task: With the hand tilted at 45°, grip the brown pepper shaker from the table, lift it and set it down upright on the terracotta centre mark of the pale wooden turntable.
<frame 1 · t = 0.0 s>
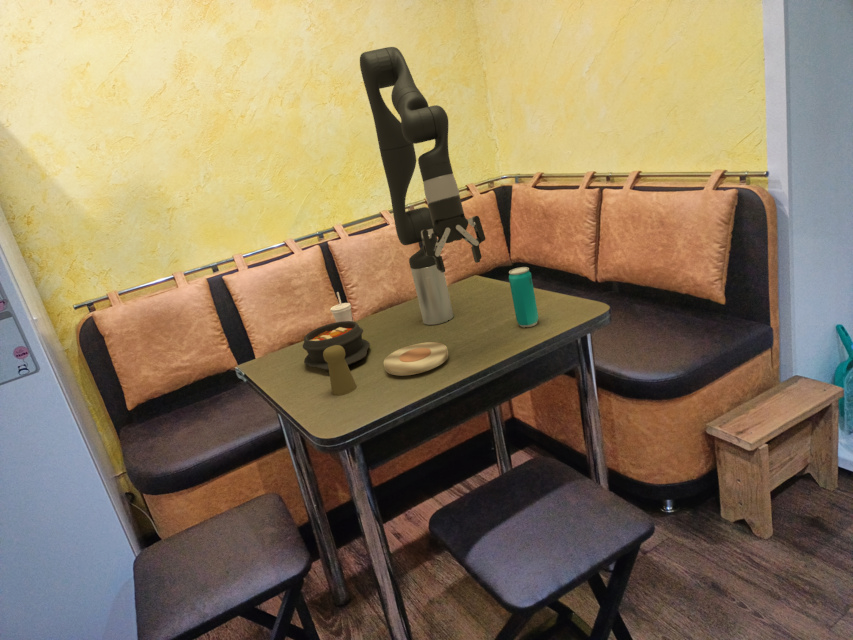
hand: (460, 267, 138), 22 cm above the table, tool pointing down, fingers open, 8 cm apart
smoothie: (348, 336, 183), on the table
beverage can: (528, 325, 158), on the table
brown pepper shaker: (344, 390, 144), on the table
turntable: (416, 359, 148), point 1 cm above the table, hinge at 0.0°
casserole: (339, 359, 166), on the table
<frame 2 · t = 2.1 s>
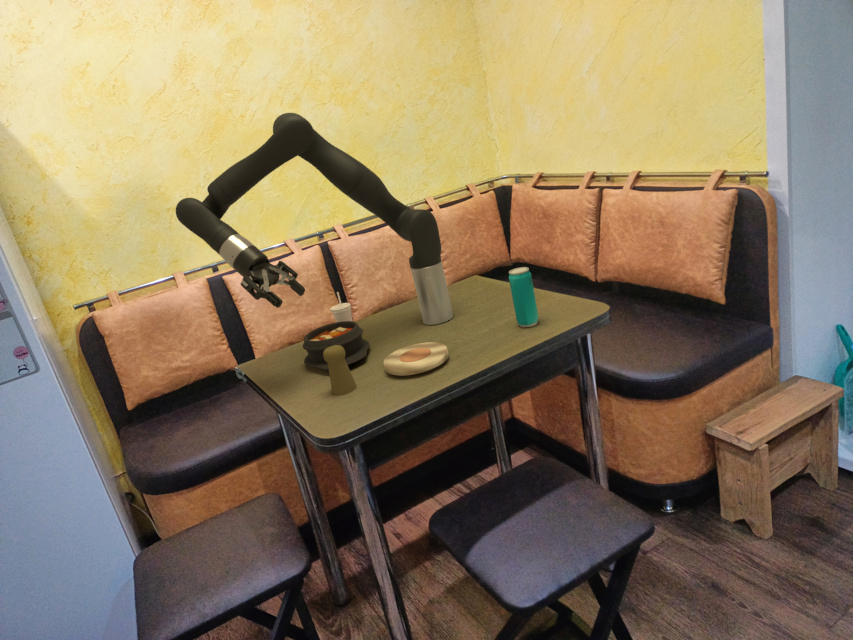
hand: (292, 298, 143), 23 cm above the table, tool tilted 45°, fingers open, 8 cm apart
nothing on the table moved.
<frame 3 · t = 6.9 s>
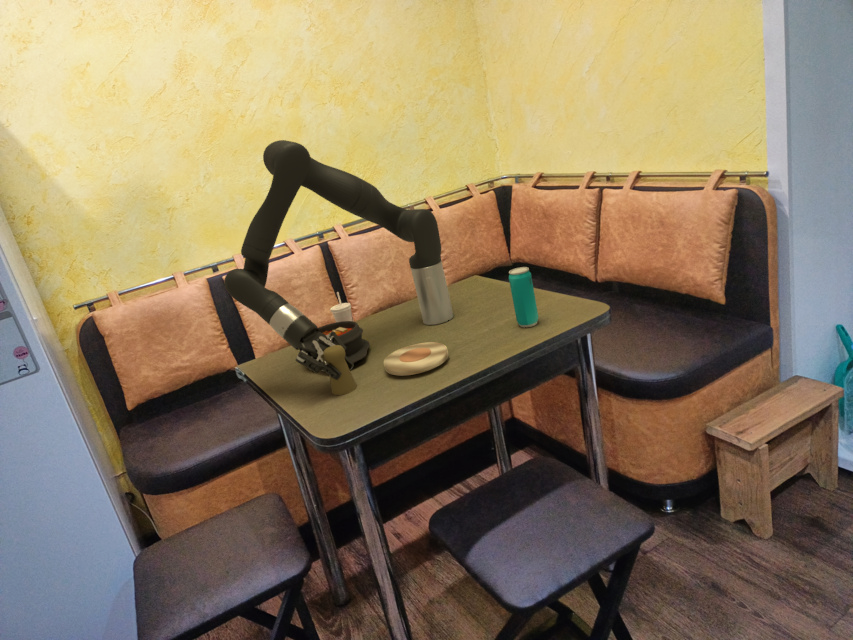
hand: (345, 372, 141), 5 cm above the table, tool tilted 45°, fingers closed on brown pepper shaker, 4 cm apart
brown pepper shaker: (344, 389, 144), on the table, touching gripper
everything else where it was.
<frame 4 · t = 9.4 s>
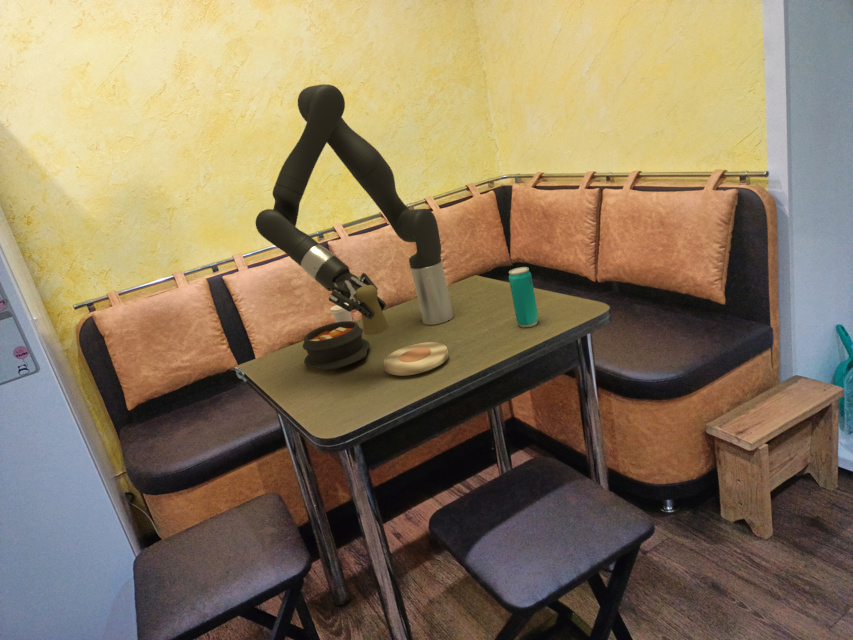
hand: (378, 311, 141), 16 cm above the table, tool tilted 45°, fingers closed on brown pepper shaker, 4 cm apart
brown pepper shaker: (376, 330, 143), point 11 cm above the table, touching gripper
everything else where it was.
when the fingers open (9 cm above the table, at t = 12.0 s): brown pepper shaker drops 1 cm, resting on turntable.
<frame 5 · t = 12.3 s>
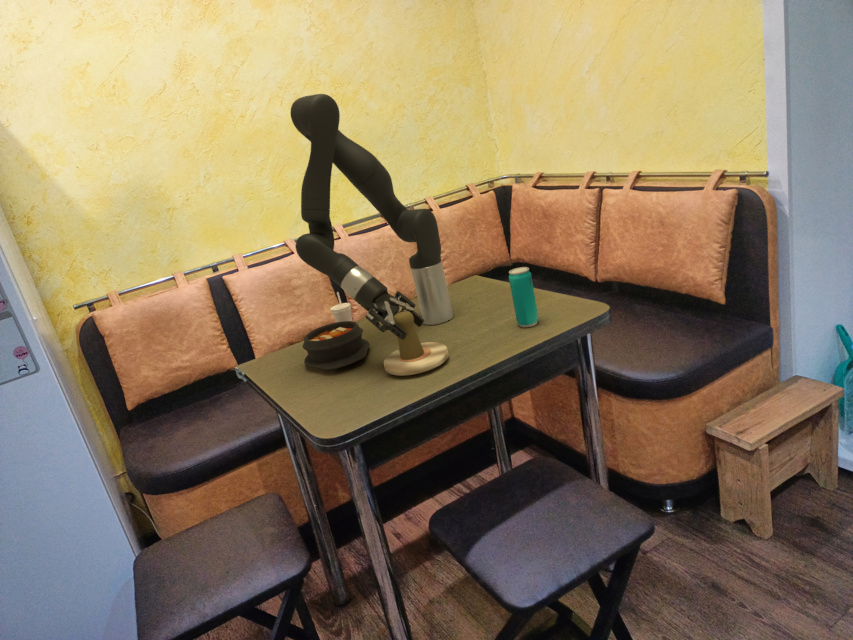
hand: (414, 330, 144), 9 cm above the table, tool tilted 45°, fingers open, 8 cm apart
brown pepper shaker: (412, 355, 147), point 3 cm above the table, touching turntable
turntable: (416, 359, 148), point 1 cm above the table, hinge at 0.0°, touching brown pepper shaker
everything else where it was.
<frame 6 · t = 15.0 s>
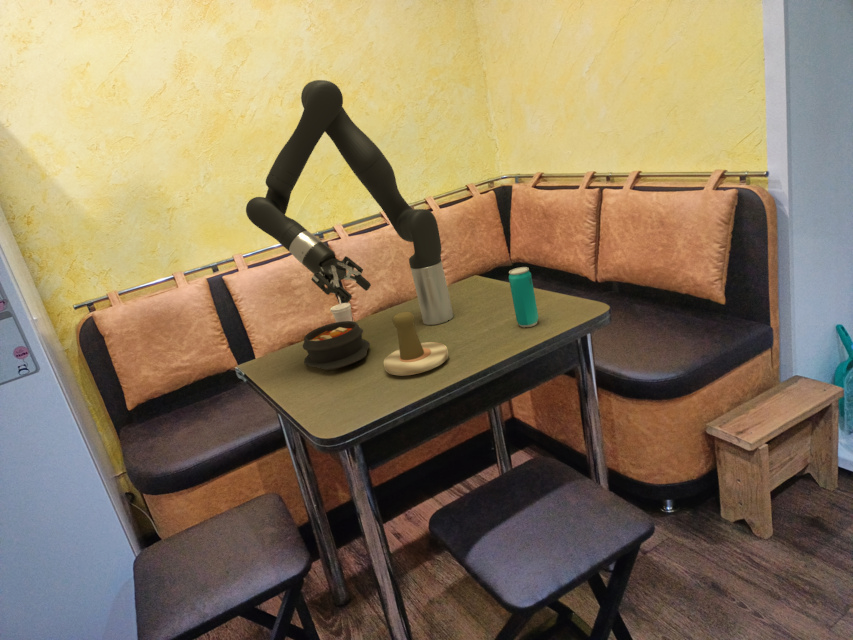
hand: (359, 293, 149), 19 cm above the table, tool tilted 45°, fingers open, 8 cm apart
nothing on the table moved.
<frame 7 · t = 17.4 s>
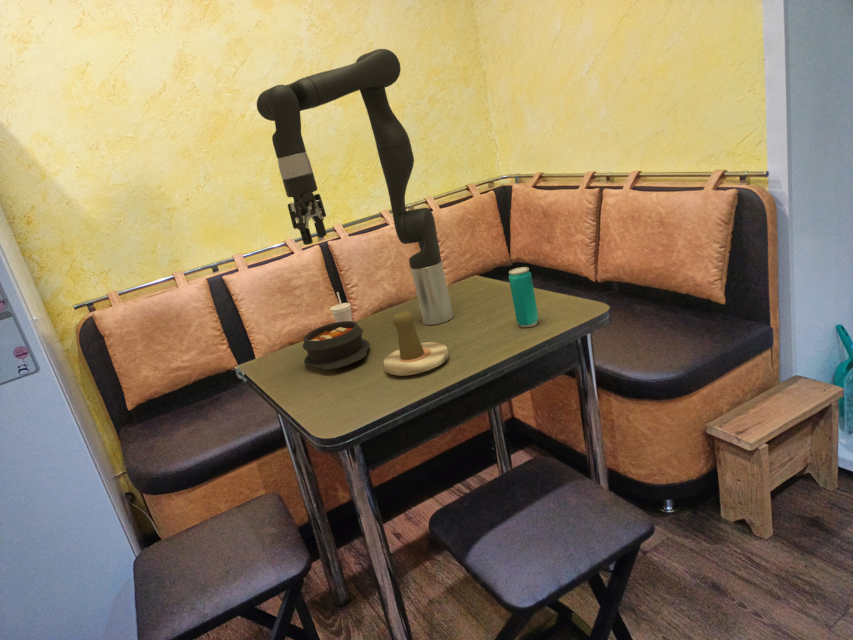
hand: (315, 240, 148), 34 cm above the table, tool pointing down, fingers open, 8 cm apart
nothing on the table moved.
at the end: brown pepper shaker 0.7 cm off-centre on the turntable, point 2.6 cm above the turntable's base; brown pepper shaker tilted 0°; the gripper is holding nothing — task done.
